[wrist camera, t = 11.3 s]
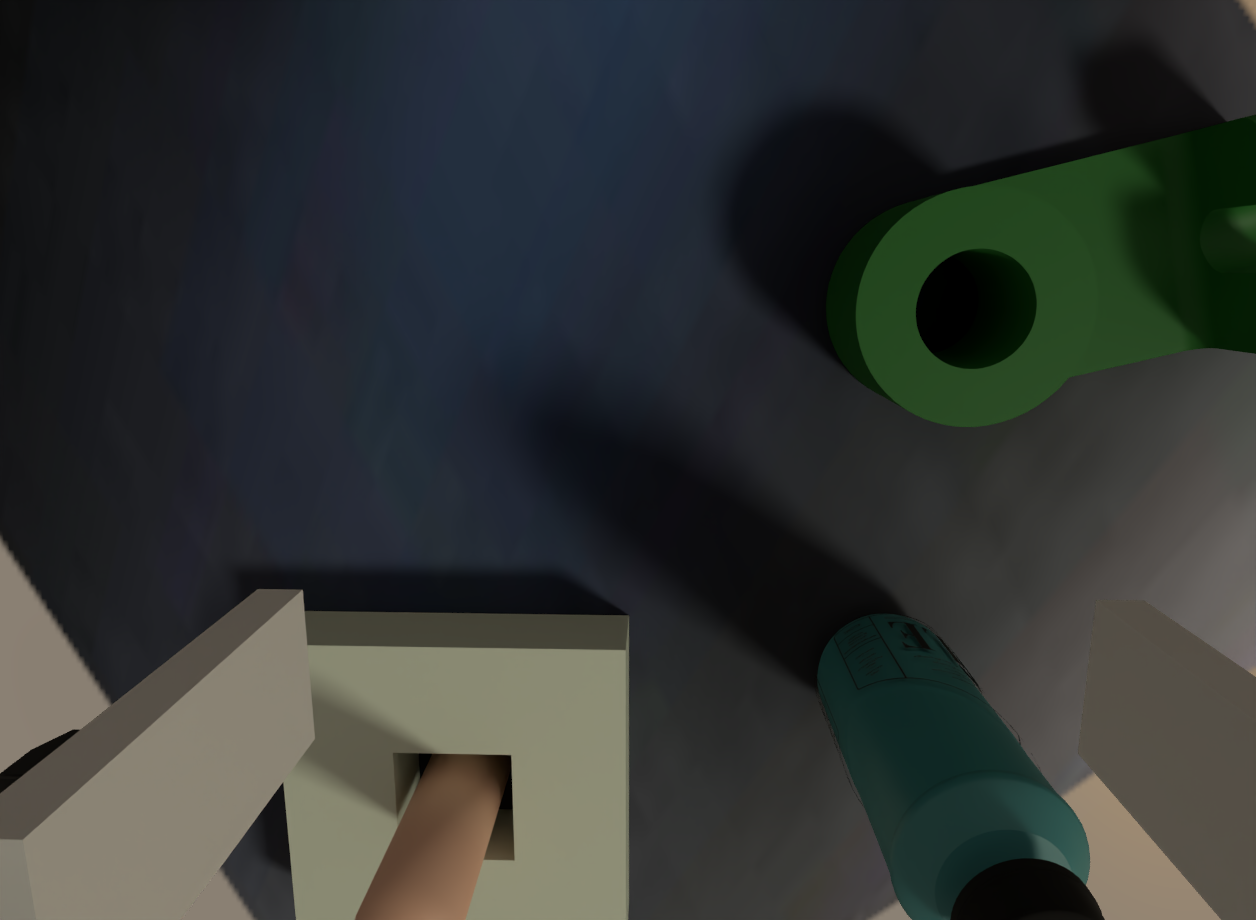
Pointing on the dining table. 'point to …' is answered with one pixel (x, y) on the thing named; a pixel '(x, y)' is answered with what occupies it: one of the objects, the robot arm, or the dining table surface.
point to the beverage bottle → (948, 782)
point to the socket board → (468, 724)
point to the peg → (439, 841)
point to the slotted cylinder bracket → (1057, 275)
